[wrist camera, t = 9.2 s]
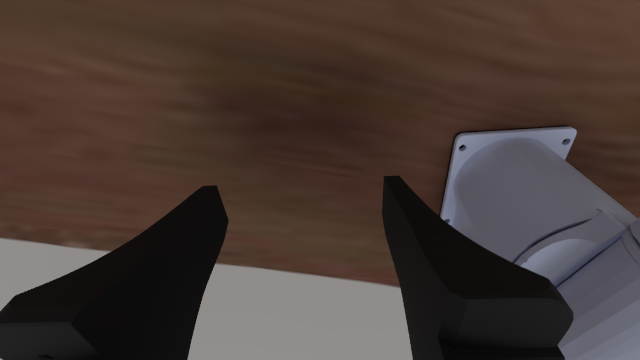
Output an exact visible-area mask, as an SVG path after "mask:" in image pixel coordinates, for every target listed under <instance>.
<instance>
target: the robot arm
mask: <svg viewBox="0 0 640 360" xmlns="http://www.w3.org/2000/svg"><path fill="white" fill-rule="evenodd" d="M576 134H577V131H576V130H575V129H574V128H572V127H553V128H537V129H521V130H504V131H488V132H472V133H461V134H459V135H458V136H457V137H456V138H455V142H454V147H453V152H452V157H451V163H450V168H449V173H448V178H447V183H446V188H445V194H444V199H443V204H442V209H441V214H440V217H439V216H438V215H437V214H436V213H435V212H434V211H433V210H432V209H430V208H429V207H428V206H427V205H426V204H425V203H424V202H423V201H422V200H421V199H420V198H419V197H418V196H417V195H416V194H415V193H414V192H413V190H412V189H411V188H410V187H409V186H408V185H407V184H406V183H405V182H404V180H403V179H402V178H401V177H400V176H384V187H383V207H382V216H383V222H384V228H385V234H386V238H387V241H388V245H389V248H390V252H391V255H392V259H393V262H394V265H395V269H396V272H397V276H398V279H399V283H400V287H401V292H402V297H403V303H404V308H405V314H406V320H407V325H408V331H409V337H410V344H411V350H412V356H413V360H640V217H639V218H636V217H635V216H634V215H633V214H631V213H630V212H629V211H628V210H626V209H625V208H624V207H623V206H621V205H620V204H619V203H618V202H616V201H615V200H614V199H613V198H611V197H610V196H609V195H608V194H606V193H605V192H604V191H603V190H601V189H600V188H599V187H598V186H596V185H595V184H594V183H593V182H591V181H590V180H589V179H588V178H586V177H585V176H584V175H583V174H581V173H580V172H579V171H578V170H576V169H575V168H574V167H573V166H571V165H570V164H569V163H568V162H566V161H565V159H566V157H567V154H568V152H569V150H570V148H571V145H572V143H573V141H574V139H575V136H576ZM565 139H566V141H564V142H563V140H565ZM461 145H464V147H463V148H460V149H459V147H460V146H461ZM446 219H448V220H446ZM228 221H229V220H228V217H227V215H226V212H225V209H224V206H223V203H222V200H221V197H220V194H219V191H218V188H217V185H215V186H203V187H201V188H200V189H198V190H197V191H196V192H194V193H193V194H192V195H191V196H189V197H188V198H187V199H186V200H184V201H183V202H182V203H181V204H179V205H178V206H177V207H176V208H174V209H173V210H172V211H171V212H169V213H168V214H167V215H166V216H164V217H163V218H162V219H160V220H159V221H158V222H156V223H155V224H153V225H152V226H151V227H149V228H148V229H147V230H145V231H144V232H142V233H141V234H139V235H138V236H136V237H135V238H133V239H132V240H130V241H129V242H127V243H125V244H124V245H122V246H120V247H119V248H117V249H115V250H113V251H112V252H110V253H108V254H106V255H104V256H103V257H101V258H99V259H97V260H95V261H94V262H92V263H90V264H87V265H85V266H84V267H82V268H79V269H77V270H75V271H73V272H71V273H69V274H67V275H64V276H62V277H60V278H57V279H55V280H53V281H50V282H48V283H46V284H43V285H41V286H38V287H36V288H33V289H31V290H28V291H26V292H24V293H21V294H18V295H16V296H14V297H13V298H12V300H11V301H10V302H9V303H8V304H7V305H6V306H5V307H4V308H3V309H2V310H1V311H0V358H1V359H3V360H187V358H188V354H189V349H190V344H191V339H192V336H193V331H194V327H195V323H196V319H197V315H198V312H199V308H200V304H201V301H202V297H203V294H204V291H205V288H206V285H207V283H208V280H209V278H210V275H211V273H212V270H213V268H214V265H215V263H216V260H217V258H218V255H219V252H220V250H221V247H222V245H223V242H224V238H225V234H226V230H227V226H228Z"/></svg>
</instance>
